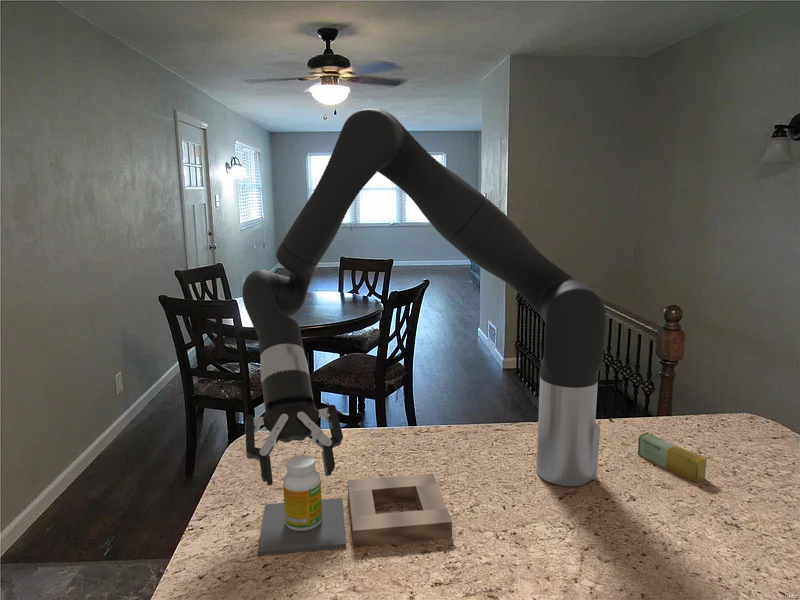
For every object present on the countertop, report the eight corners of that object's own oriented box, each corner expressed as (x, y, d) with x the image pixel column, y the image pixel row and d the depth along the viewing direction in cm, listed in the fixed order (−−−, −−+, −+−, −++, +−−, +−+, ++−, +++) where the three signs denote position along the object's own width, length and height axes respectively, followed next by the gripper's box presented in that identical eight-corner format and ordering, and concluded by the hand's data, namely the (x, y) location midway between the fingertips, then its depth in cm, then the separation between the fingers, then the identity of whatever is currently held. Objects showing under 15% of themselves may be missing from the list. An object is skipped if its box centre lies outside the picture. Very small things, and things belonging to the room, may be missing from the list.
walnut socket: (433, 487, 98) (433, 473, 97) (452, 537, 84) (452, 521, 84) (348, 494, 96) (347, 480, 95) (353, 546, 82) (353, 530, 82)
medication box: (636, 455, 109) (637, 435, 108) (646, 451, 110) (647, 431, 109) (696, 484, 98) (698, 462, 97) (706, 479, 100) (708, 458, 99)
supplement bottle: (315, 534, 84) (312, 471, 82) (279, 530, 85) (275, 468, 83) (327, 513, 89) (324, 454, 87) (293, 509, 90) (290, 451, 88)
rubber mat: (342, 501, 94) (342, 497, 94) (346, 547, 82) (346, 543, 82) (265, 507, 92) (265, 504, 92) (257, 555, 81) (257, 551, 80)
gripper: (239, 373, 89) (250, 479, 81) (332, 363, 93) (351, 463, 85) (239, 394, 95) (249, 495, 87) (327, 384, 99) (344, 479, 91)
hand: (300, 479), depth 86 cm, fingers open, 8 cm apart
